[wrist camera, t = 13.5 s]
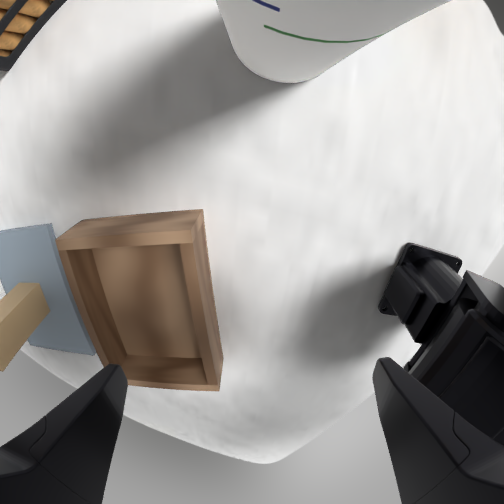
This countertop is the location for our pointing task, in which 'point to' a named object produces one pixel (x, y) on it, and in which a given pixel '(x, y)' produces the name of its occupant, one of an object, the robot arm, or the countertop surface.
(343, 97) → the countertop surface
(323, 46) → the cylindrical container
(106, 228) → the open wooden box
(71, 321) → the lid
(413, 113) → the countertop surface
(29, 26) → the ammunition clip
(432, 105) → the countertop surface
